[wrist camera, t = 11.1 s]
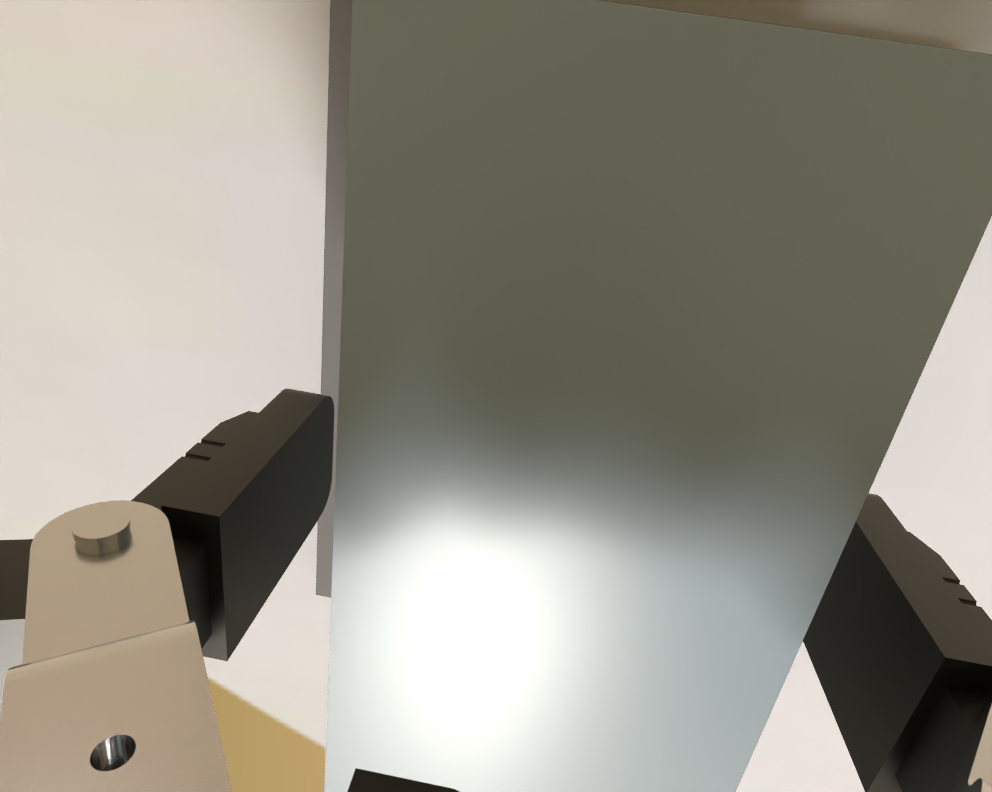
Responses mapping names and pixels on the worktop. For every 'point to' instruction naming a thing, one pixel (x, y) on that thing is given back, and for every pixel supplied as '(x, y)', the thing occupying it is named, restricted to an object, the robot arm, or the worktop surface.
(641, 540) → the cover
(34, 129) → the worktop surface
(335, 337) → the mat
